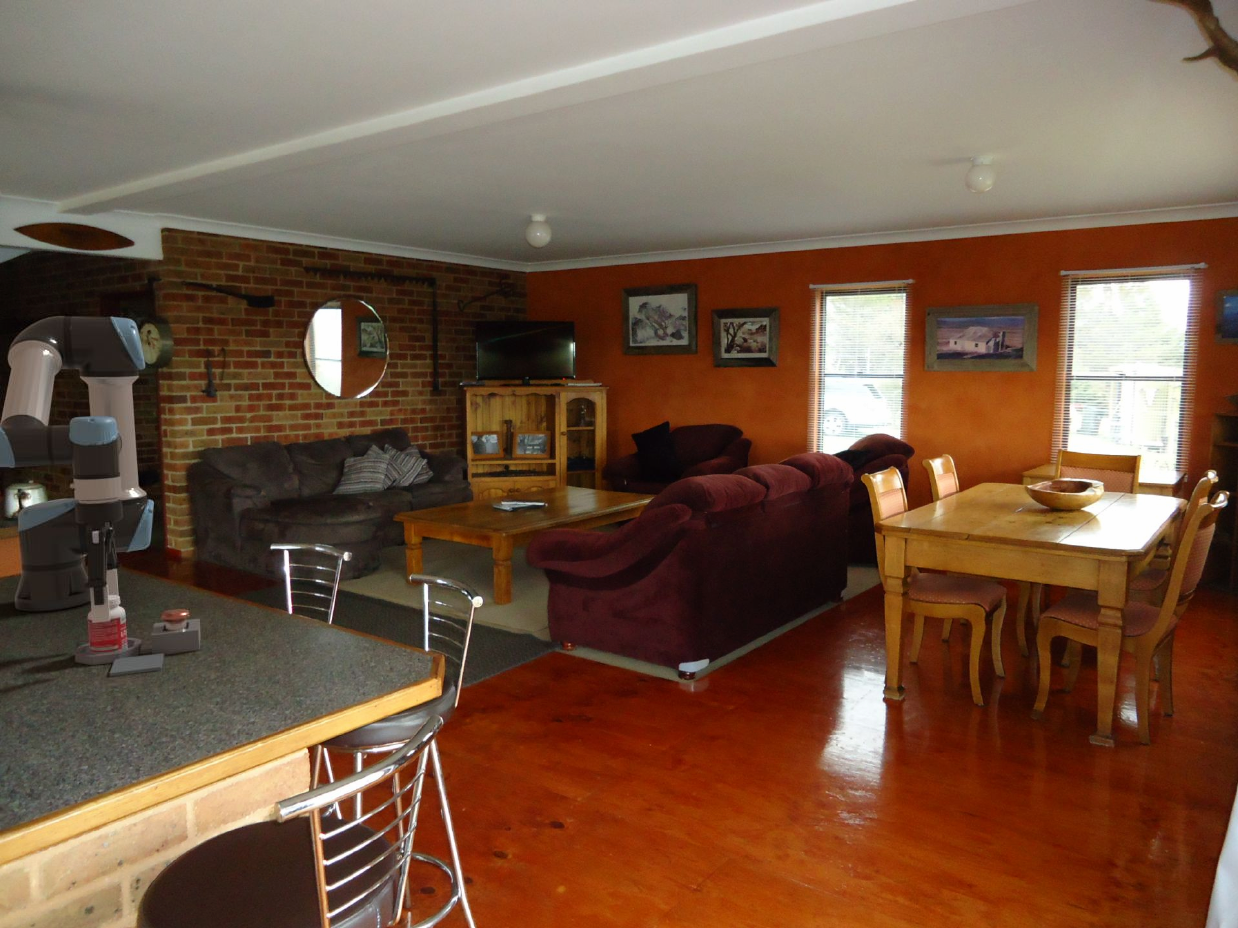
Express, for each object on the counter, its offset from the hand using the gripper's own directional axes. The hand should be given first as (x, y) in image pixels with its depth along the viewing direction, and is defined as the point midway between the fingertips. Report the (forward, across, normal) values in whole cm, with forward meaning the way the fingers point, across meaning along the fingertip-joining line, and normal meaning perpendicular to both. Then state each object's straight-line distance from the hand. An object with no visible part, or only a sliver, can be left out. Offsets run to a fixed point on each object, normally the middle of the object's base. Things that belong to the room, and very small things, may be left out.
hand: (106, 612), depth 163 cm
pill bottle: (+9, 0, 0) cm, 9 cm away
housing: (+8, 0, +6) cm, 10 cm away
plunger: (+8, 0, +12) cm, 14 cm away
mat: (+8, +9, +6) cm, 13 cm away
